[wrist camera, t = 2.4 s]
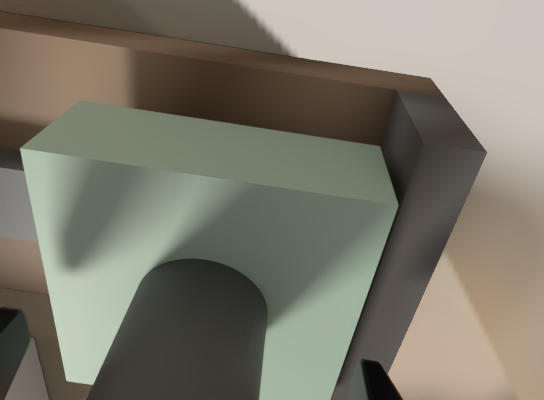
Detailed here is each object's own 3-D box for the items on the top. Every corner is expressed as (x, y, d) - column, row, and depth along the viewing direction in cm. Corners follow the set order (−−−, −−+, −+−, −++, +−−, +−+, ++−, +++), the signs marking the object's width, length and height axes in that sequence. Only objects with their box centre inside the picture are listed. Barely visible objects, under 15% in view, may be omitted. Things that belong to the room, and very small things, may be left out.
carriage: (379, 146, 10) (496, 514, 4) (321, 343, 14) (332, 689, 8) (79, 100, 10) (-296, 402, 4) (103, 310, 14) (-67, 636, 8)
